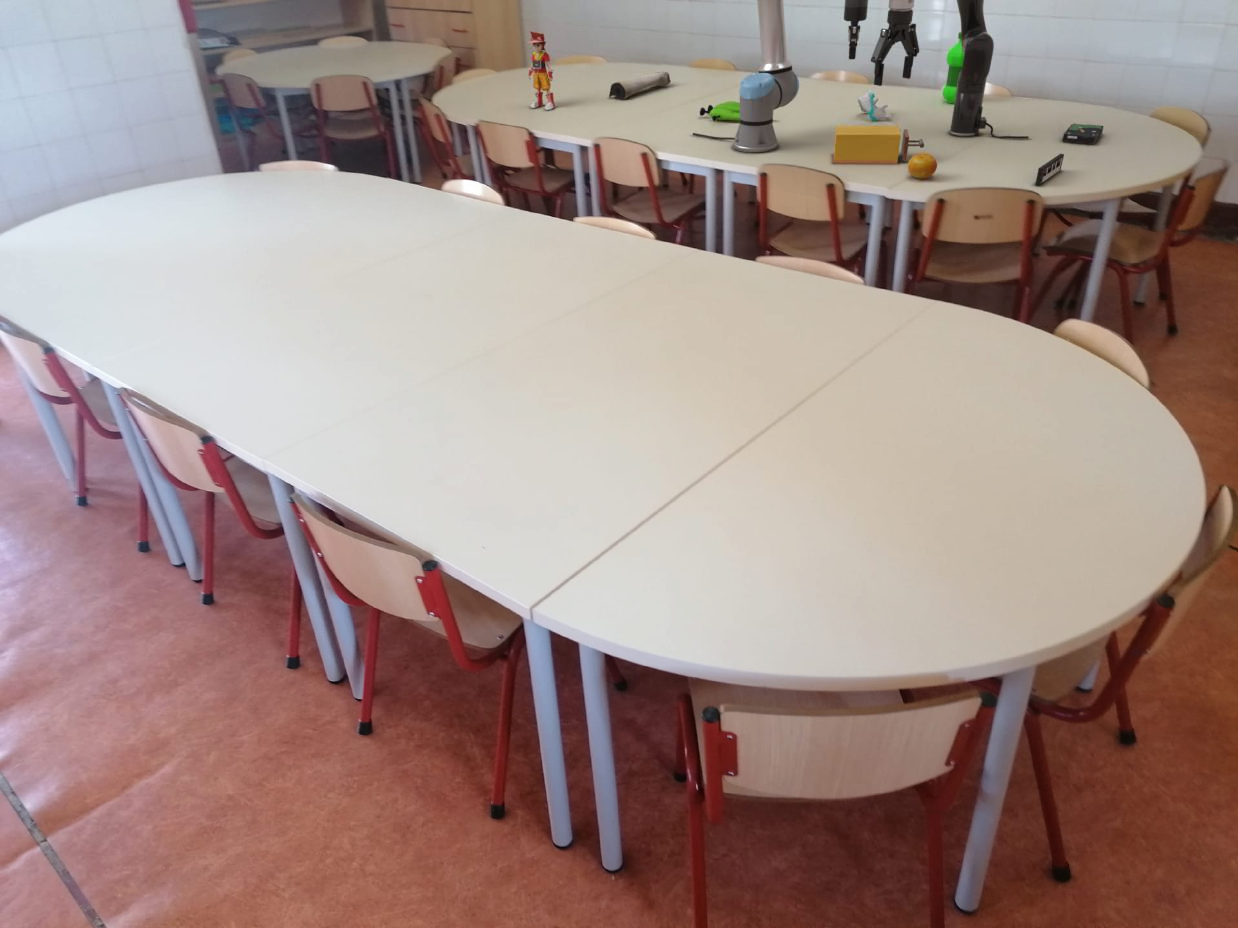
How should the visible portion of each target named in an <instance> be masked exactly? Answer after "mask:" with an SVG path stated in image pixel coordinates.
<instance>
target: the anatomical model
mask: <svg viewBox="0 0 1238 928" xmlns="http://www.w3.org/2000/svg"><path fill="white" fill-rule="evenodd" d="M875 98H876V95H875V93H874V92H872V91H871V90H869V89H868V90H866V93H865V94H864V95H861V96H858V98H857V102H858V104H859V107H860V110H861V112H863V113H867V114H868V116H869V118H870V119H871V121H873V122H876V121H877V122H878V121H879V120H890V119H891V118H892V115H891V114H887V113H885V111H886V109H887V108H888V104H885V105H882V106H877V105H876V104H877V103H878V101H879V98H876V99H875Z"/></svg>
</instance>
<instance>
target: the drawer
mask: <svg viewBox="0 0 1238 928" xmlns="http://www.w3.org/2000/svg"><path fill="white" fill-rule="evenodd" d="M901 138H902V139H901ZM900 139H901V145H900V147H901V148H900V154H901V160H902V161H907V158H908V150H909V147H919V148H920V149H923V148H924V147H925V142H924V139H923V138H919V139H910V134H909V131H908V129H903V130H902V136H901V137H900Z"/></svg>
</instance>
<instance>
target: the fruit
mask: <svg viewBox="0 0 1238 928" xmlns="http://www.w3.org/2000/svg"><path fill="white" fill-rule="evenodd" d="M937 168H938V162H937V159H936V158H935V157H934V156H933V155H932V154H930V153H927V152H925V153H924V152H921V153H917V154H915V155H913V156H912V157H911V158H910V159H909V161H908V164H907V171H908V174H909V175H910V176H911V177H913V178H916V179H928V178H930V177H932V176H933V175H934V174H935V173H936V171H937Z"/></svg>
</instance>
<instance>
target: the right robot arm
mask: <svg viewBox="0 0 1238 928" xmlns="http://www.w3.org/2000/svg"><path fill="white" fill-rule="evenodd" d="M956 4H957V8H958V13H959V17H960V32H961V47H962V52H963V54H964V59H963V65H962V69H961V72H960V73H959V77H958V83H957V90H956V96H955V103H953V110H952V115H951V124H950V129H949V134H950V135H952V136H956V137H973V136H979V131H980V130H986V128H987V127H989V128H990V133H989V134H990V136H991V137H992V138H996V139H1029V135H1028V136H1025V135H1022V136H1021V135H1020V136H1018V135H1016V136H1015V135H999V136H998V135H995V134H994V128H993V126H992V125H991V124H990V123H988V120H987V118H986V116H982V115H983V109H984V107H983V102H984V96H985V90H986V83H987V79H988V76H989V74H990V71H991V65H992V60H993V56H994V51H995V50H994V49H995V48H994V47H995V43H994V39H993V37H992V36H991V35H990V34H989V33H988V30H987V25H986V20H985V14H984V5H985V0H956ZM868 7H869V0H844V9H843V10H844V11H843V20H844V21H845V22H850V25H848V27H847V33H848V38H847V39H848V43H849V44H848V60H856V56H857V47H858V41H859V40H860V33H861V25H860V24H859V22H863V21H866V20H867V18H868V9H869V8H868Z"/></svg>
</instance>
